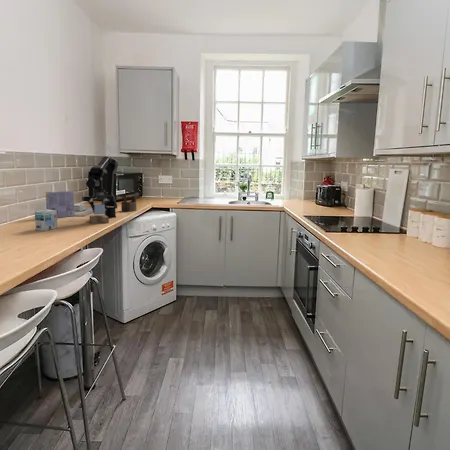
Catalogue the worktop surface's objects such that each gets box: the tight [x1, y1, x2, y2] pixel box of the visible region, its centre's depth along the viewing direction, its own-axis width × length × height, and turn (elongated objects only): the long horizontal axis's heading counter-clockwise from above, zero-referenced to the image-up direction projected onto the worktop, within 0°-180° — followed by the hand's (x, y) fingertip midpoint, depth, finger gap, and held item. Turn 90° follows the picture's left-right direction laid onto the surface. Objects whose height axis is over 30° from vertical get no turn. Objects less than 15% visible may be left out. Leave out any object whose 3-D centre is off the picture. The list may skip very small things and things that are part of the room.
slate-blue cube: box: [92, 203, 105, 215], centre depth 233 cm, size 6×6×6 cm
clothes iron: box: [120, 192, 140, 213], centre depth 286 cm, size 8×16×13 cm, turn 154°
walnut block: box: [88, 214, 110, 225], centre depth 234 cm, size 10×10×4 cm
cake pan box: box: [45, 190, 76, 219], centre depth 248 cm, size 19×5×18 cm, turn 145°
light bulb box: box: [34, 208, 58, 232], centre depth 208 cm, size 11×7×11 cm, turn 168°
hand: (98, 211), depth 233 cm, fingers closed on slate-blue cube, 6 cm apart
